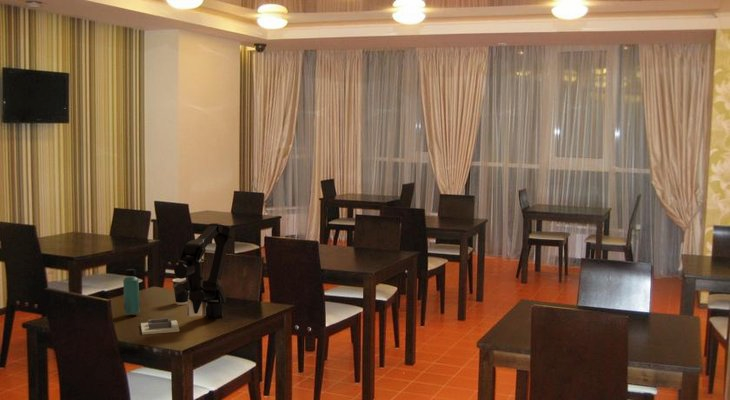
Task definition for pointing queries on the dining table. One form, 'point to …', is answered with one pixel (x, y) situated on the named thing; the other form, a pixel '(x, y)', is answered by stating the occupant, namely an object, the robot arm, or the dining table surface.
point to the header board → (159, 326)
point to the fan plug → (191, 311)
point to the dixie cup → (182, 296)
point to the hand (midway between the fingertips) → (195, 312)
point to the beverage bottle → (131, 293)
